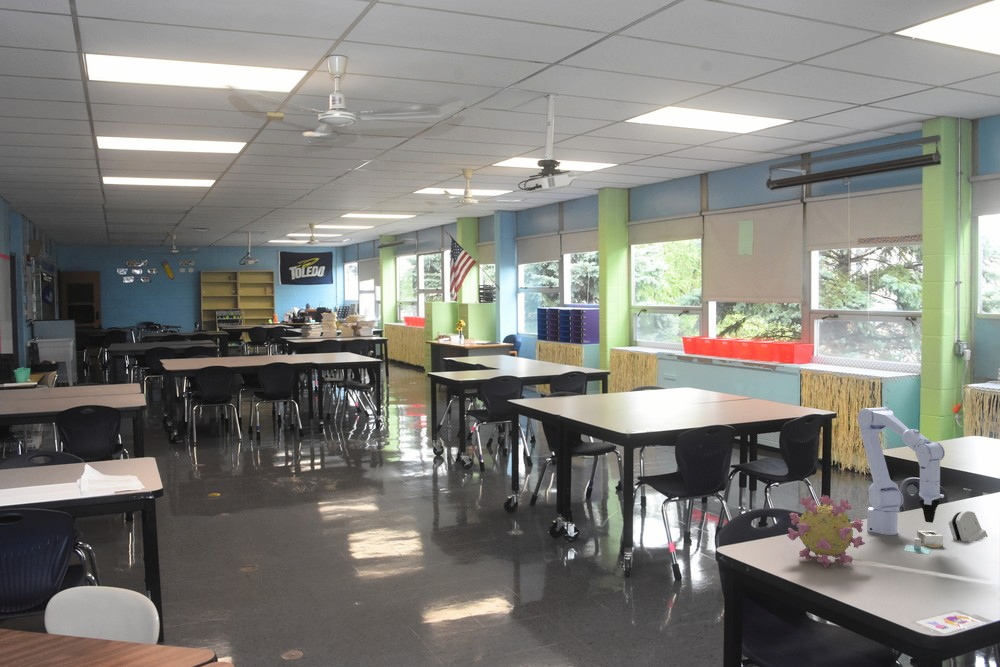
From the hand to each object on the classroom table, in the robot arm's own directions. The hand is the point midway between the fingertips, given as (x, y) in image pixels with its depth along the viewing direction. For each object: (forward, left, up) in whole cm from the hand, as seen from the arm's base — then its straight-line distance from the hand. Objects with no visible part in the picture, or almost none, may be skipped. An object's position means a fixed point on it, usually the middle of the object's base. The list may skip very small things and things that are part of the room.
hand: (929, 521), depth 247 cm
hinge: (+10, +22, -10) cm, 26 cm away
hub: (0, +5, -9) cm, 10 cm away
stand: (-3, -4, -9) cm, 10 cm away
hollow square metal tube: (0, +5, -8) cm, 9 cm away
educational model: (-26, -29, -10) cm, 40 cm away
